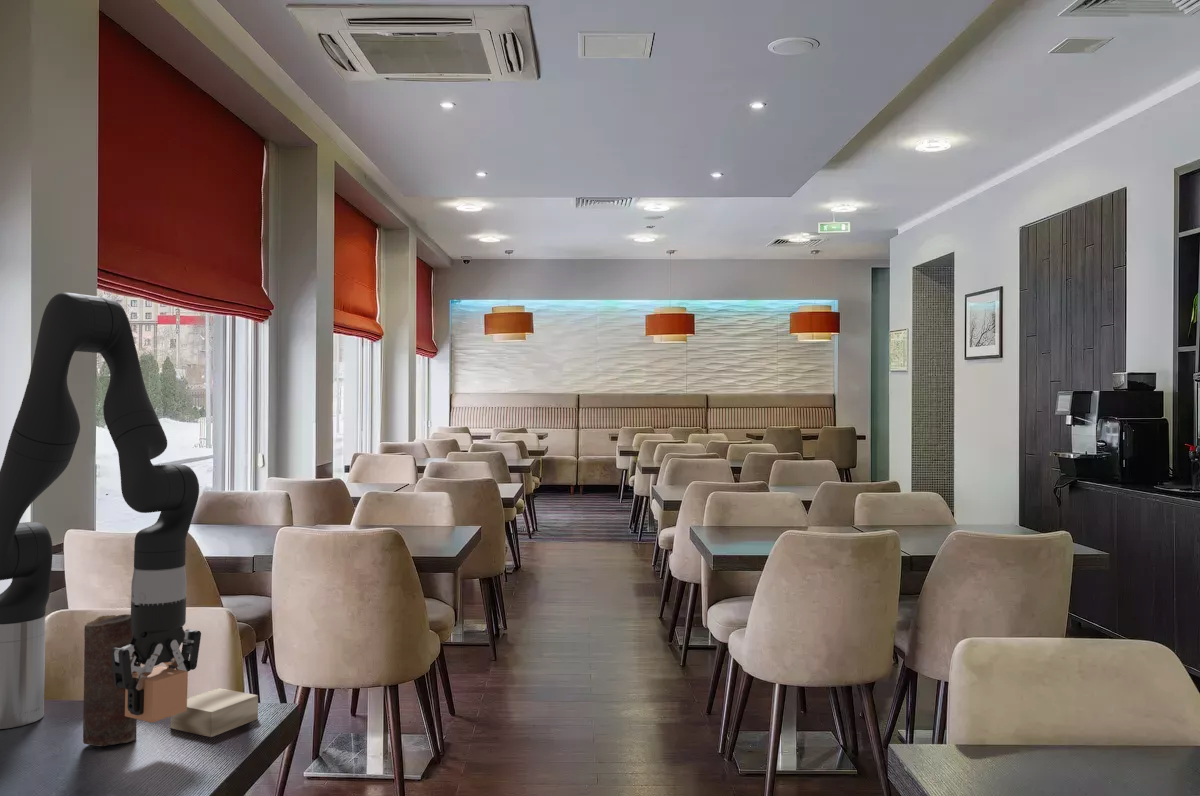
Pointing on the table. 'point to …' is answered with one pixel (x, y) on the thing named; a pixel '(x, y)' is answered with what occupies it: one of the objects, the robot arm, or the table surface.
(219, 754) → the table surface
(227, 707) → the oak plinth
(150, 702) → the terracotta cube
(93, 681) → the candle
